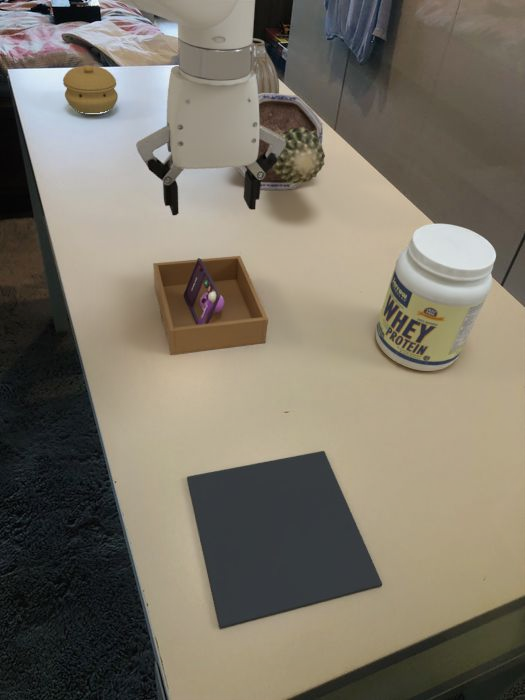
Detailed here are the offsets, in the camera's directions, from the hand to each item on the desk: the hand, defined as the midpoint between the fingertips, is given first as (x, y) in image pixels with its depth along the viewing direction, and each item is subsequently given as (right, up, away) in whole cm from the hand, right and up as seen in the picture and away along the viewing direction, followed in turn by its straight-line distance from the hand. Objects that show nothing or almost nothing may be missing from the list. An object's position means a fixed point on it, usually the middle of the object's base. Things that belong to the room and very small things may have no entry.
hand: (212, 206), depth 69 cm
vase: (+3, +38, +66) cm, 76 cm away
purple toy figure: (-2, -12, +12) cm, 17 cm away
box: (-2, -13, +12) cm, 17 cm away
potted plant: (+9, +14, +41) cm, 44 cm away
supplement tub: (+28, -17, +11) cm, 35 cm away
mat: (+8, -36, -12) cm, 39 cm away
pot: (-33, +38, +61) cm, 80 cm away
